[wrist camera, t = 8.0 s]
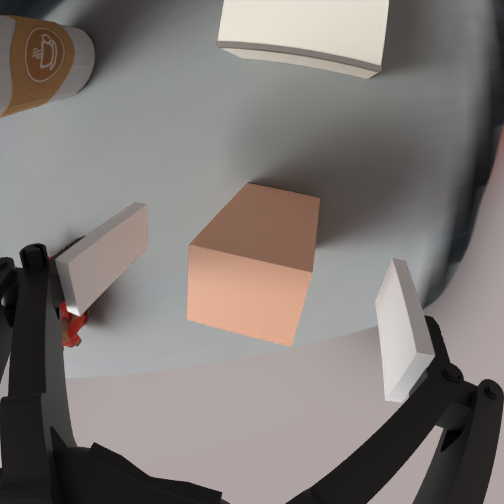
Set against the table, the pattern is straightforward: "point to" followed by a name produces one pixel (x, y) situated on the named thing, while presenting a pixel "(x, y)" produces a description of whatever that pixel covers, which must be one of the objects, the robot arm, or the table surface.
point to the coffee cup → (41, 62)
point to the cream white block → (308, 33)
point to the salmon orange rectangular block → (254, 264)
